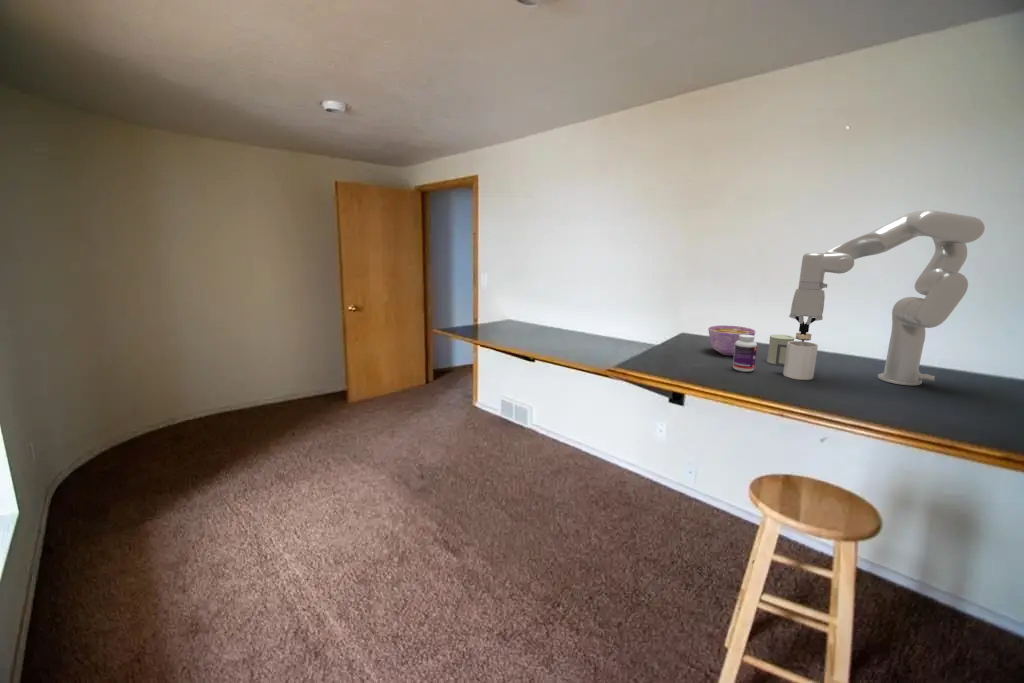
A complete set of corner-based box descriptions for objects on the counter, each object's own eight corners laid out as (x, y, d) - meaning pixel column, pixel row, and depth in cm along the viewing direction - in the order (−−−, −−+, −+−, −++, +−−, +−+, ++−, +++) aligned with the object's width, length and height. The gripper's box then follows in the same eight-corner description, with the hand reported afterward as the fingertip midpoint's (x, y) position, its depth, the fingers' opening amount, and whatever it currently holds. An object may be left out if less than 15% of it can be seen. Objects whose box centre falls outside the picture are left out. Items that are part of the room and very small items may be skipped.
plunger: (810, 367, 176) (815, 333, 172) (809, 372, 170) (814, 336, 167) (789, 364, 180) (794, 331, 177) (787, 368, 174) (791, 334, 171)
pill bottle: (755, 373, 180) (760, 338, 176) (733, 371, 182) (737, 337, 179) (752, 367, 187) (756, 334, 184) (731, 366, 190) (734, 333, 186)
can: (795, 365, 190) (799, 337, 188) (773, 365, 190) (777, 338, 188) (783, 359, 199) (786, 333, 197) (762, 359, 199) (765, 333, 197)
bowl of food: (697, 349, 218) (699, 326, 216) (734, 347, 222) (736, 324, 219) (723, 360, 199) (725, 334, 197) (763, 357, 203) (766, 332, 200)
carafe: (814, 375, 176) (819, 343, 174) (811, 381, 169) (816, 348, 166) (776, 369, 184) (780, 338, 181) (772, 375, 177) (776, 343, 174)
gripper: (835, 286, 166) (827, 334, 170) (788, 284, 175) (782, 330, 179) (834, 288, 160) (826, 338, 165) (785, 285, 169) (779, 333, 173)
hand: (803, 333), depth 172 cm, fingers closed
